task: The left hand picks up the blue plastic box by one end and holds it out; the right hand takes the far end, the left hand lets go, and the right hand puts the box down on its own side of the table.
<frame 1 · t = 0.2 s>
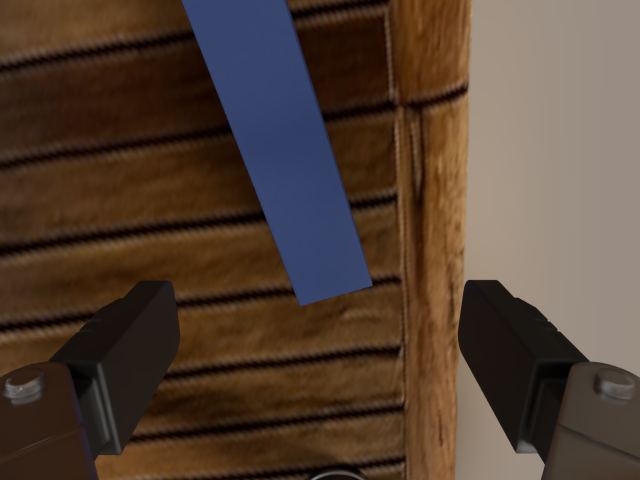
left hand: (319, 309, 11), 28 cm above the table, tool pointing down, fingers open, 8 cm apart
box: (291, 131, 36), on the table
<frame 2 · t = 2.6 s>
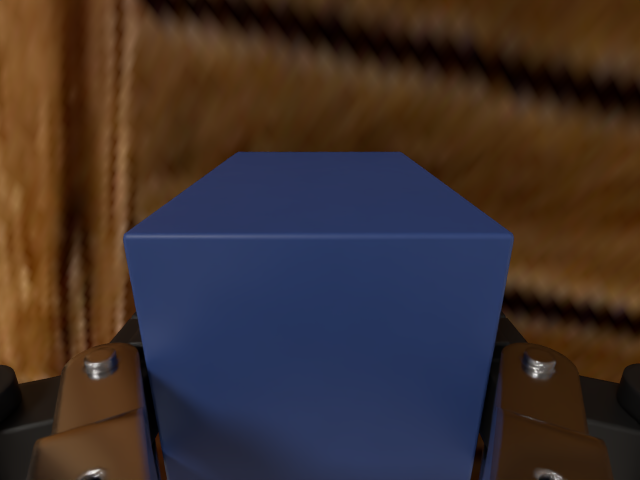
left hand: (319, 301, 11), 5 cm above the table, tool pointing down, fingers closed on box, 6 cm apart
box: (319, 418, 19), on the table, touching left hand
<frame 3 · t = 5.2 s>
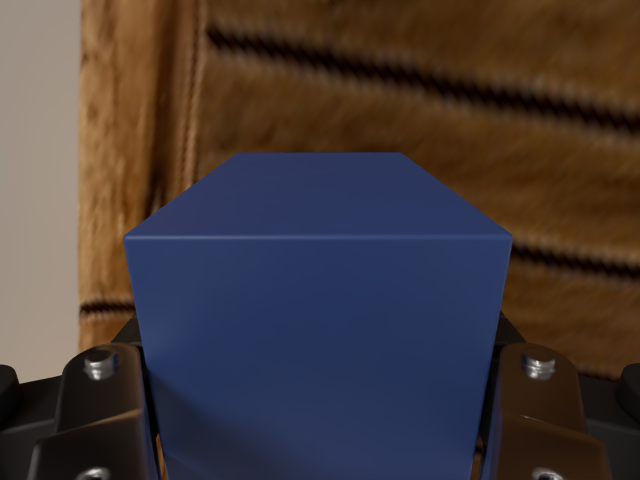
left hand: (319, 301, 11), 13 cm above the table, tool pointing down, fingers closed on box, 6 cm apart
box: (319, 419, 19), point 8 cm above the table, touching left hand
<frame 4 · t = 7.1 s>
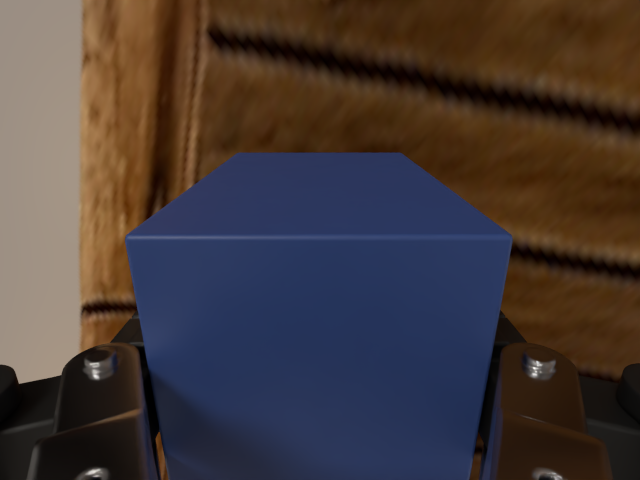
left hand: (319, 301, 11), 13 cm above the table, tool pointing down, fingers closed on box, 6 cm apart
box: (319, 418, 19), point 8 cm above the table, touching left hand, right hand
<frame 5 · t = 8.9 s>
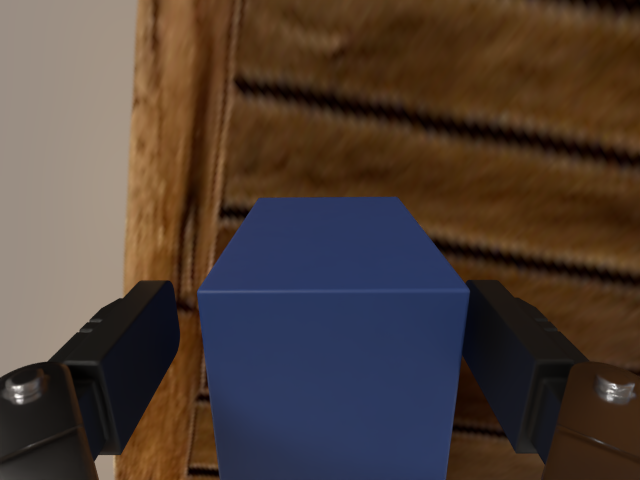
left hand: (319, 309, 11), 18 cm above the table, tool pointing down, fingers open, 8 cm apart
box: (328, 424, 21), point 11 cm above the table, touching right hand
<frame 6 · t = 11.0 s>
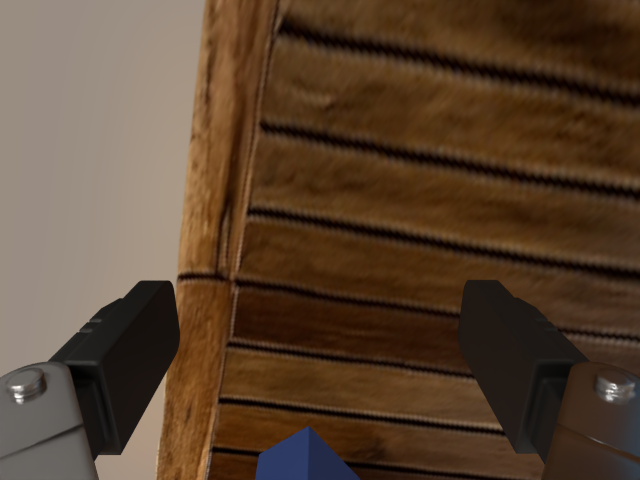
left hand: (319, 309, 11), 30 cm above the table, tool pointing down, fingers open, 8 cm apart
when the right hand's fingers open (6 cm above the table, at t = 12.6 s): box drops 2 cm, on the table.
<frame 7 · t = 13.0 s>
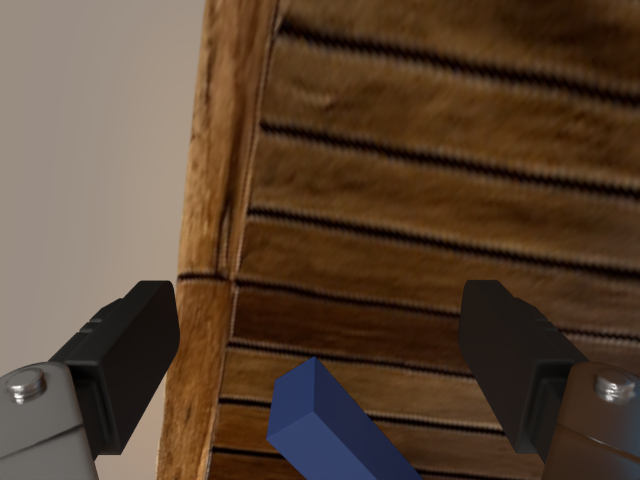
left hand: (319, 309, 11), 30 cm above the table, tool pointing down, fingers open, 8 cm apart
box: (352, 431, 52), on the table
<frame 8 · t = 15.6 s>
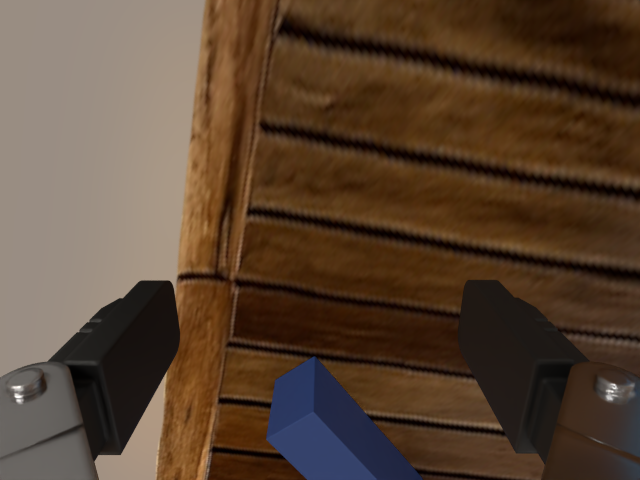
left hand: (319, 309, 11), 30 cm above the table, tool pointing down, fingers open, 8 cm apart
box: (352, 431, 52), on the table
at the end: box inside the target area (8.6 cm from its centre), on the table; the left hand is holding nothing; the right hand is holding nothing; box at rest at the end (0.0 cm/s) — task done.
